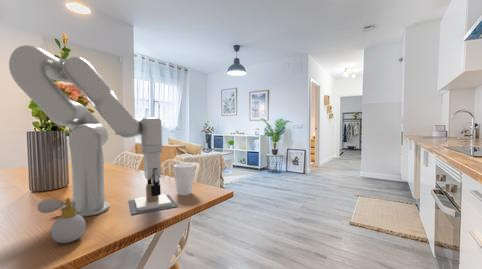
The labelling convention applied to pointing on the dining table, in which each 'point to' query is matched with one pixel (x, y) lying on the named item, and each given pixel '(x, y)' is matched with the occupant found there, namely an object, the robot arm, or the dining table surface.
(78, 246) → the dining table surface
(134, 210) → the mat
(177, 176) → the foam cup
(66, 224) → the perfume bottle
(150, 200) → the lid
